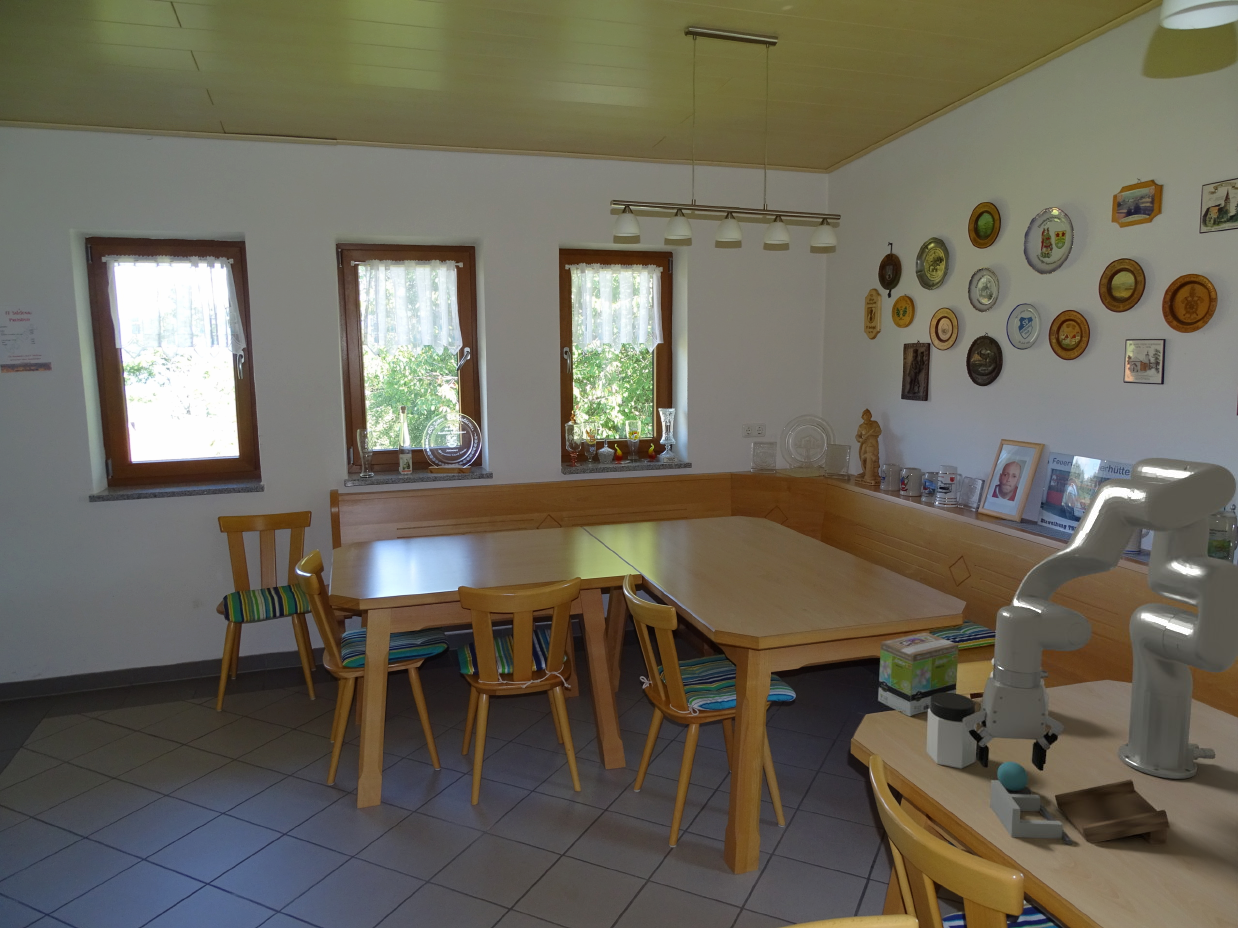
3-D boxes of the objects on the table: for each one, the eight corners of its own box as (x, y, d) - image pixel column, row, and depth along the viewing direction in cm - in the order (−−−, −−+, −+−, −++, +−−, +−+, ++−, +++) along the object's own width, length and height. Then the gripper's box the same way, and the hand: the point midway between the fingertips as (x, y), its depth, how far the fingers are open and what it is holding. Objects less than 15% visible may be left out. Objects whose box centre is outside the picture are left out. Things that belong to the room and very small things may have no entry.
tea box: (911, 718, 172) (913, 654, 170) (877, 701, 181) (878, 640, 179) (957, 704, 179) (959, 642, 177) (922, 688, 187) (924, 630, 186)
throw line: (1038, 803, 137) (1038, 799, 137) (1071, 844, 125) (1071, 839, 125) (1033, 803, 137) (1033, 799, 137) (1066, 843, 125) (1066, 839, 125)
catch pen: (1037, 807, 136) (1038, 781, 135) (1061, 838, 127) (1063, 809, 126) (990, 806, 137) (991, 779, 136) (1011, 836, 128) (1012, 808, 127)
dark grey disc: (1022, 782, 144) (1022, 780, 144) (1037, 801, 138) (1037, 798, 138) (987, 781, 145) (987, 779, 145) (1000, 799, 139) (1000, 797, 139)
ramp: (1133, 811, 135) (1135, 779, 134) (1168, 846, 125) (1170, 811, 124) (1053, 809, 136) (1055, 777, 135) (1082, 843, 126) (1084, 808, 125)
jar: (955, 772, 148) (958, 713, 147) (918, 755, 155) (920, 698, 153) (982, 759, 153) (985, 701, 152) (945, 743, 160) (947, 688, 158)
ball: (1020, 782, 144) (1021, 756, 143) (1032, 796, 139) (1033, 770, 138) (992, 781, 144) (993, 755, 144) (1003, 795, 139) (1004, 769, 139)
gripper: (1056, 669, 142) (1049, 758, 144) (959, 665, 143) (953, 753, 145) (1076, 685, 134) (1069, 778, 136) (974, 681, 136) (968, 773, 138)
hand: (1009, 765), depth 141 cm, fingers open, 9 cm apart
